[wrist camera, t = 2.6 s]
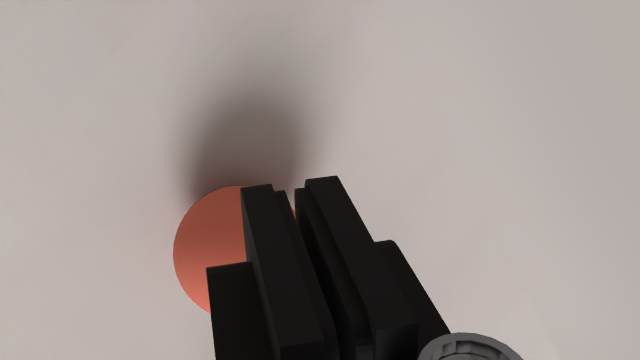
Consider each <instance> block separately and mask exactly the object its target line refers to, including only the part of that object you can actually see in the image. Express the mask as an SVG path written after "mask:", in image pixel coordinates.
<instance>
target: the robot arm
mask: <svg viewBox="0 0 640 360" xmlns="http://www.w3.org/2000/svg"><path fill="white" fill-rule="evenodd" d="M240 198H241V209H242V220H243V230H244V241H245V251H246V262H239V263H233V264H226V265H219V266H213V267H206V275H207V284H208V293H209V302H210V311H211V320H212V329H213V339H214V348H215V357H216V360H523V359H522V358H521V357H520V356H519V355H518V354H517V353H516V352H515V351H513V350H512V349H511V348H510V347H509V346H507V345H506V344H504V343H502V342H500V341H498V340H496V339H493V338H491V337H488V336H484V335H480V334H476V333H460V332H458V333H452V334H451V332H450V331H449V329H448V327H447V326H446V324H445V322H444V321H443V319H442V318H441V316H440V314H439V313H438V311H437V309H436V308H435V306H434V304H433V303H432V301H431V300H430V298H429V296H428V295H427V293H426V291H425V290H424V288H423V286H422V285H421V283H420V282H419V280H418V278H417V277H416V275H415V273H414V272H413V270H412V268H411V267H410V265H409V264H408V262H407V260H406V259H405V257H404V255H403V254H402V252H401V250H400V249H399V247H398V246H397V244H396V243H395V242H394V241H392V240H386V241H379V242H374V241H373V239H372V237H371V235H370V234H369V232H368V230H367V228H366V226H365V225H364V223H363V221H362V219H361V217H360V216H359V214H358V212H357V210H356V208H355V207H354V205H353V203H352V201H351V199H350V198H349V196H348V194H347V192H346V190H345V189H344V187H343V185H342V183H341V181H340V180H339V178H338V177H337V176H329V177H321V178H313V179H306V181H305V188H298V189H295V217H294V214H293V211H292V209H291V206H290V203H289V201H288V198H287V195H286V193H285V191H284V190H283V191H275V192H274V189H273V186H272V184H266V185H258V186H250V187H242V188H240ZM295 218H296V219H295Z"/></svg>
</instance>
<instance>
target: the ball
mask: <svg viewBox="0 0 640 360" xmlns="http://www.w3.org/2000/svg"><path fill="white" fill-rule="evenodd" d="M242 187H250V186H245V185H238V186H229V187H224V188H221V189H218V190H216V191H213V192H211V193H209V194H208V195H206V196H204V197H203V198H201V199H200V200H199V201H197V202H196V203H195V204H194V205H193V206H192V207H191V208H190V210H189V211H188V212H187V213H186V215H185V216H184V218H183V219H182V221H181V223H180V225H179V227H178V230H177V233H176V236H175V240H174V249H173V260H174V267H175V271H176V275H177V277H178V279H179V282H180V284H181V286H182V288H183V289H184V291H185V292H186V294H187V295H188V296H189V297H190V298H191V300H192V301H194V302H195V303H196V304H197V305H198V306H200V307H201V308H202V309H204V310H205V311H207V312H209V313H211V311H210V302H209V293H208V284H207V275H206V267H213V266H219V265H226V264H233V263H239V262H246V251H245V241H244V230H243V220H242V209H241V198H240V188H242ZM291 209H292V208H291ZM292 211H293V214H294V217H295V211H294V210H293V209H292ZM295 219H296V218H295Z"/></svg>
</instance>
